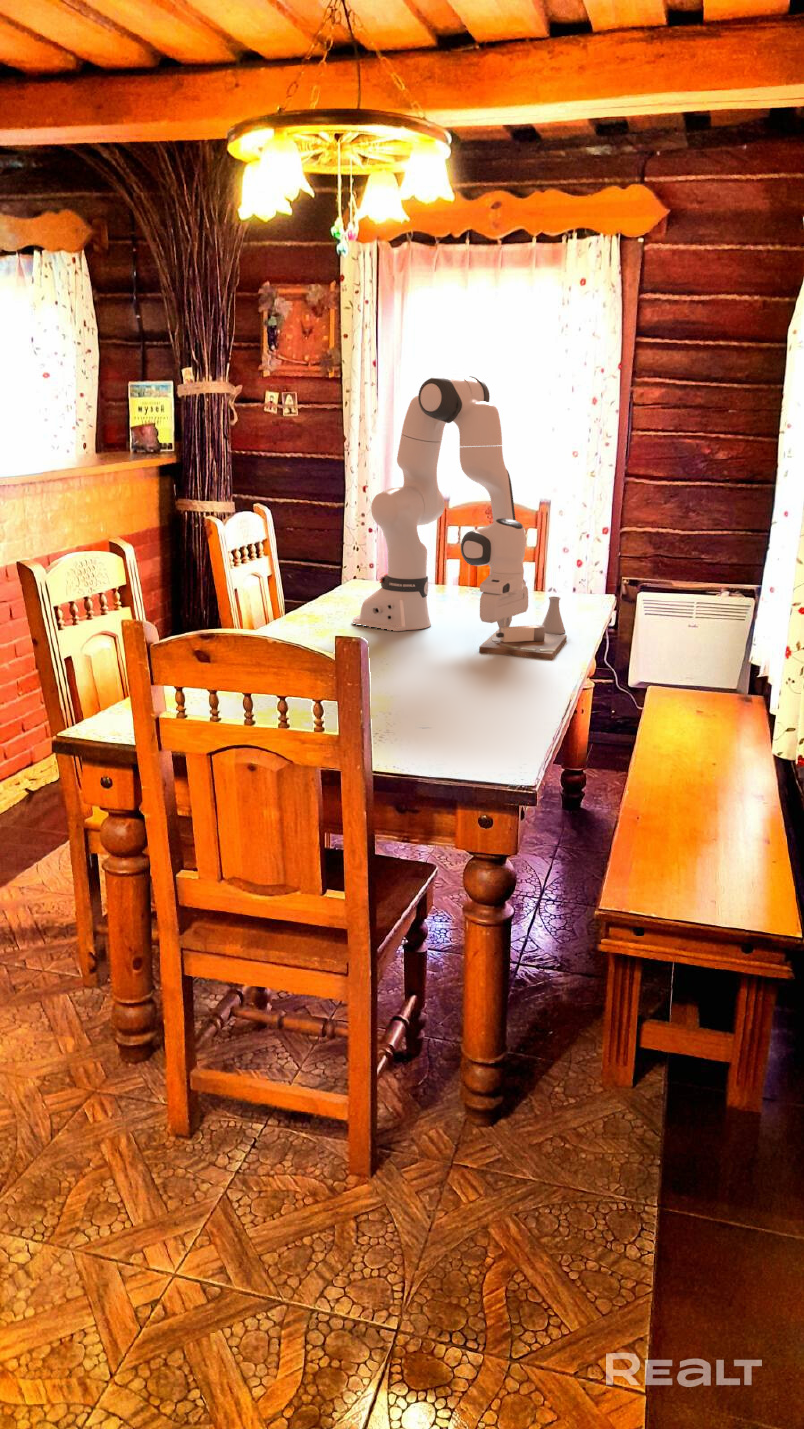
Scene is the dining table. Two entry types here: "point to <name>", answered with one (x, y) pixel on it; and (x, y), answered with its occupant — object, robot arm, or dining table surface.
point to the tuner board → (525, 646)
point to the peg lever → (522, 633)
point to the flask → (553, 618)
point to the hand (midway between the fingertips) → (503, 633)
